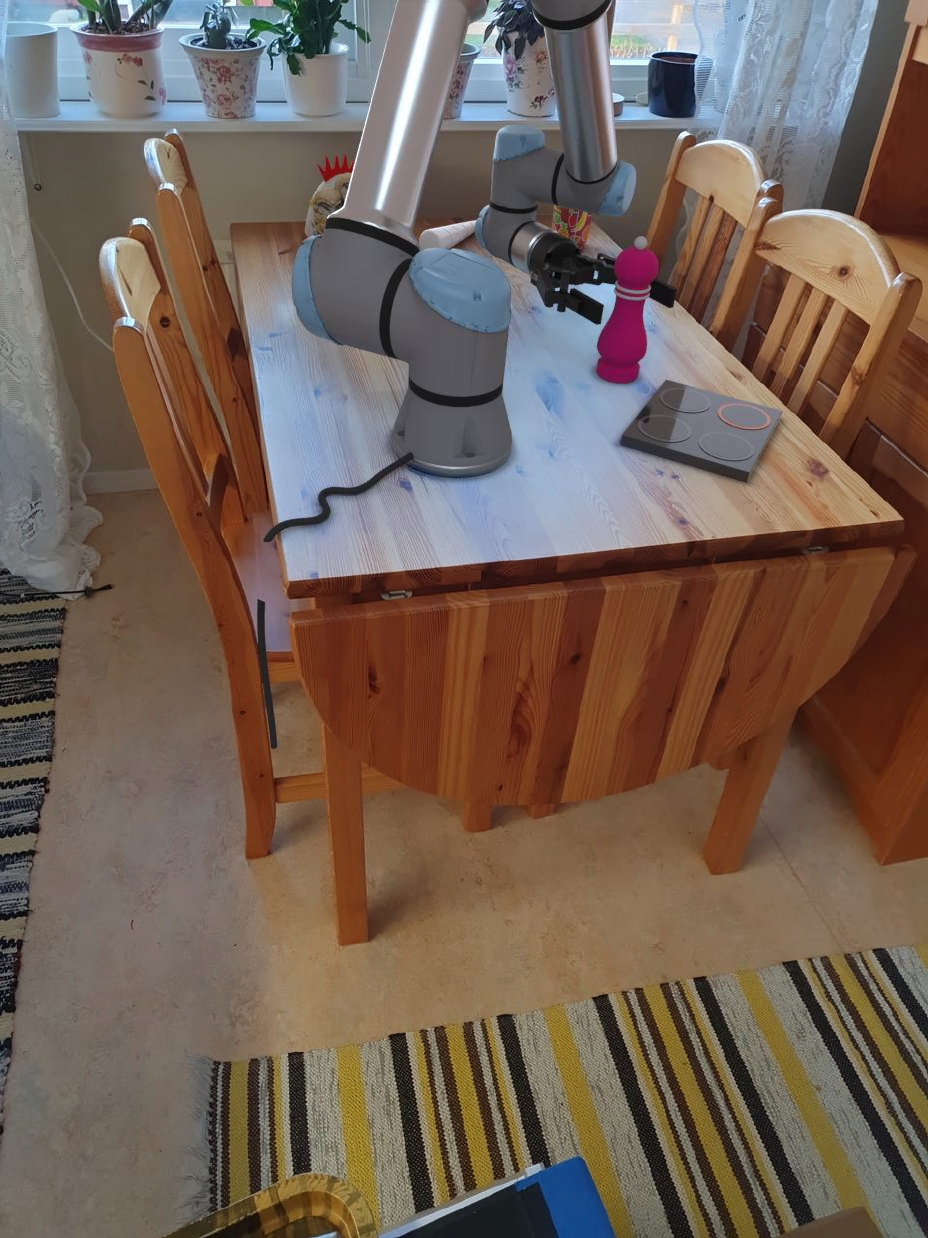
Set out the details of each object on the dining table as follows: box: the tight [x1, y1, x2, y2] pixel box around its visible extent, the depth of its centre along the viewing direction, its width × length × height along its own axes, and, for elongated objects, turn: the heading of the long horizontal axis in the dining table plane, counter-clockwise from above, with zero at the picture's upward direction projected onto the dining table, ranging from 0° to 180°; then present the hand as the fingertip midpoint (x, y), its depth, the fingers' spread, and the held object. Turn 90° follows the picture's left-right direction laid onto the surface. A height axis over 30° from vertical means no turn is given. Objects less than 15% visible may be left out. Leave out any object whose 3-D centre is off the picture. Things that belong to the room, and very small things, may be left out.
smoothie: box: [551, 205, 594, 251], centre depth 172 cm, size 8×8×20 cm
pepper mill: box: [595, 235, 659, 384], centre depth 131 cm, size 7×7×20 cm
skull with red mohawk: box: [304, 153, 356, 239], centre depth 168 cm, size 14×14×15 cm
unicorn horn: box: [418, 219, 477, 251], centre depth 175 cm, size 5×24×5 cm, turn 149°
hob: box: [619, 379, 783, 483], centre depth 125 cm, size 19×17×2 cm
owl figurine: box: [300, 172, 352, 245], centre depth 153 cm, size 18×12×17 cm, turn 115°
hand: (637, 306), depth 129 cm, fingers open, 13 cm apart
